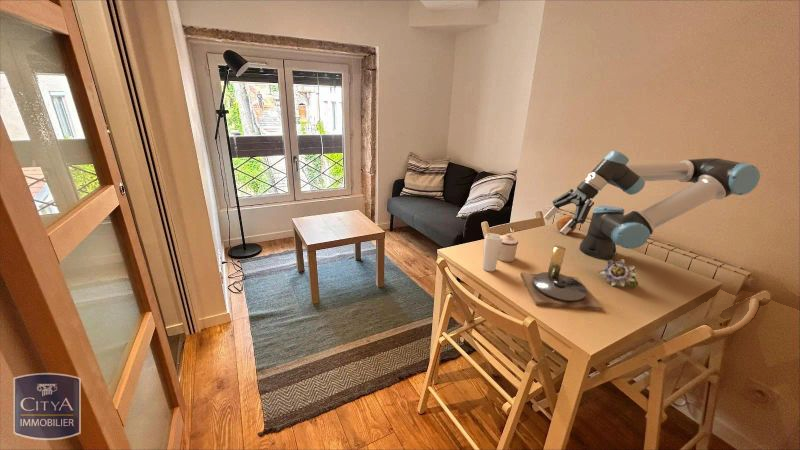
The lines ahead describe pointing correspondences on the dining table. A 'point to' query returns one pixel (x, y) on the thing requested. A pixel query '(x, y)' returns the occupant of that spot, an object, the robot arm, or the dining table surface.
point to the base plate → (544, 300)
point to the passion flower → (619, 273)
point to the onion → (564, 223)
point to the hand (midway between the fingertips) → (553, 225)
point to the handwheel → (559, 281)
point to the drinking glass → (491, 251)
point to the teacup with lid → (508, 248)
